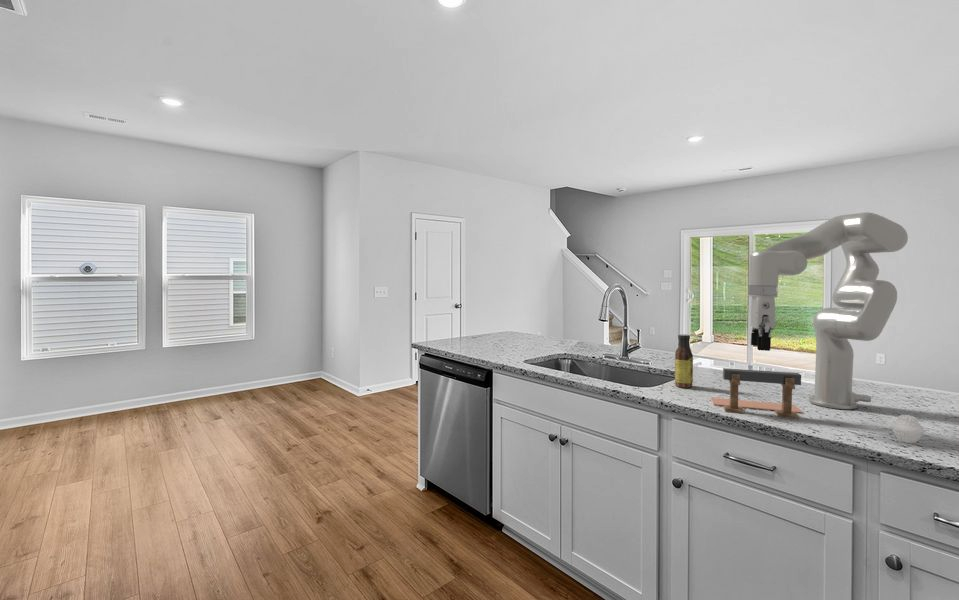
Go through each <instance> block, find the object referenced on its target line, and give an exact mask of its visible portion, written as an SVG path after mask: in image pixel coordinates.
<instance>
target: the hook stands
mask: <svg viewBox="0 0 959 600" xmlns="http://www.w3.org/2000/svg"><path fill="white" fill-rule="evenodd" d="M794 380H795V379H794V378H786V380H785V384H780V385H781V386H782V389H781V390H782V398H781V404H782V410H775V411H774V413H775V414H777V415H778V416H777V415H776V416H777V417H778V418H785V417H788V418H787V419H796V418H797V419H799V414H798V413H795V411H791V410H792V405H793V401H792V400H793V390H796V385H794ZM728 381H729V399H730V406H729V405H724V406H723V410H724V412H725V413H726V412H727V413H733V412H734V414H735V413H736V414H745V409H744V408H742V407H740V406H738V400H739V386H741V381H740V375H737V374H732V380H728Z"/></svg>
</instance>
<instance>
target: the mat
mask: <svg viewBox="0 0 959 600" xmlns="http://www.w3.org/2000/svg"><path fill="white" fill-rule="evenodd" d="M711 401H713V402H712V403H713V406H716V407H724V405H729V406H730V398H720V397H711ZM738 406H740V407H742V408H743V409H746V408H754V409H753V410H757V409H763V410H762V411H768V410H773V411H772V412H775V410H782V403H781V402H779V403H778V402H768V401H767V402H766V401H757V400H755V401H754V400H746V399H744V400H742V399H738ZM791 411H795V413H796V414H801V413H802V414H803V411H802V410H801V409H800V408H799V407H798V406H797V405H796V404H792V410H791Z"/></svg>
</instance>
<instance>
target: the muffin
mask: <svg viewBox="0 0 959 600" xmlns="http://www.w3.org/2000/svg"><path fill="white" fill-rule="evenodd" d="M918 421H919V420H918V418H917V417H915V416H913V415H909V414H901V415H899V416H898V418H897V419H896V420H895V421H893V422H891V423H890V427H891V429H892V432H893V433H894V435H895V437H896V439H897V441H899V442H901V441H902V442H901V443H904V442H905V443H906V444H912V443H914V444H916V443H917V442H918V441H919V440H920V439H921V438H922V437H923V434H924V433H925V428H924V427H923V426H922V425H921V423H920V422H918ZM912 445H913V444H912Z"/></svg>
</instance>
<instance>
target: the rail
mask: <svg viewBox="0 0 959 600" xmlns="http://www.w3.org/2000/svg"><path fill="white" fill-rule="evenodd" d="M722 368H723V369H722V379H723V380H725V381H729V380H732V374H737V375H740V382H750V383H751V382H752V383H753V382H754V383H767V384H778V385H779V384H780V385H781V384H785V380H786V378H794V379H795V380H794V385H795V386H802V375H801V374H800V373H799V372H789V371H788V372H786V371H775V370H759V369H758V370H756V369H742V368H739V369H738V368H725V367H722Z"/></svg>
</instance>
